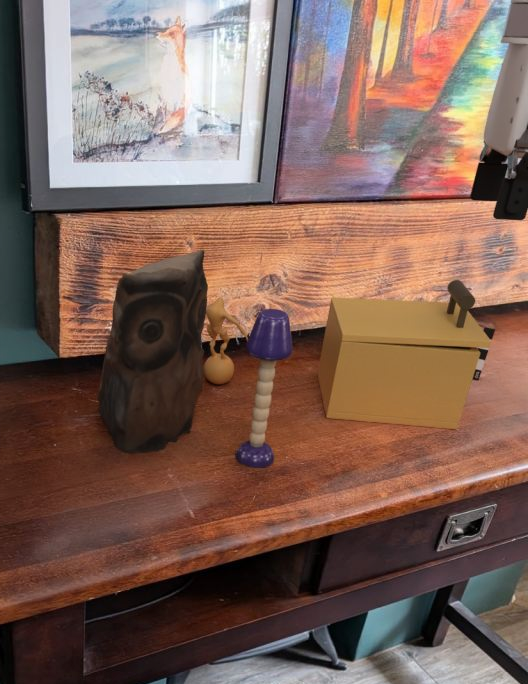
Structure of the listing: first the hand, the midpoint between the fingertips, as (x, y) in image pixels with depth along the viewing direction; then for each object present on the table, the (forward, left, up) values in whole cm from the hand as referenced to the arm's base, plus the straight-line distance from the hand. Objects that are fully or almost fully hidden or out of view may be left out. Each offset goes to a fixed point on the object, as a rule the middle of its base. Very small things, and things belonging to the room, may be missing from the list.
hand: (495, 209), depth 83 cm
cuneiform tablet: (-3, -14, -24) cm, 28 cm away
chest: (+7, 0, -24) cm, 25 cm away
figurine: (+29, 0, -24) cm, 38 cm away
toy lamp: (+24, +19, -24) cm, 39 cm away
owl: (+37, +13, -24) cm, 46 cm away
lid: (+7, 0, -14) cm, 15 cm away
